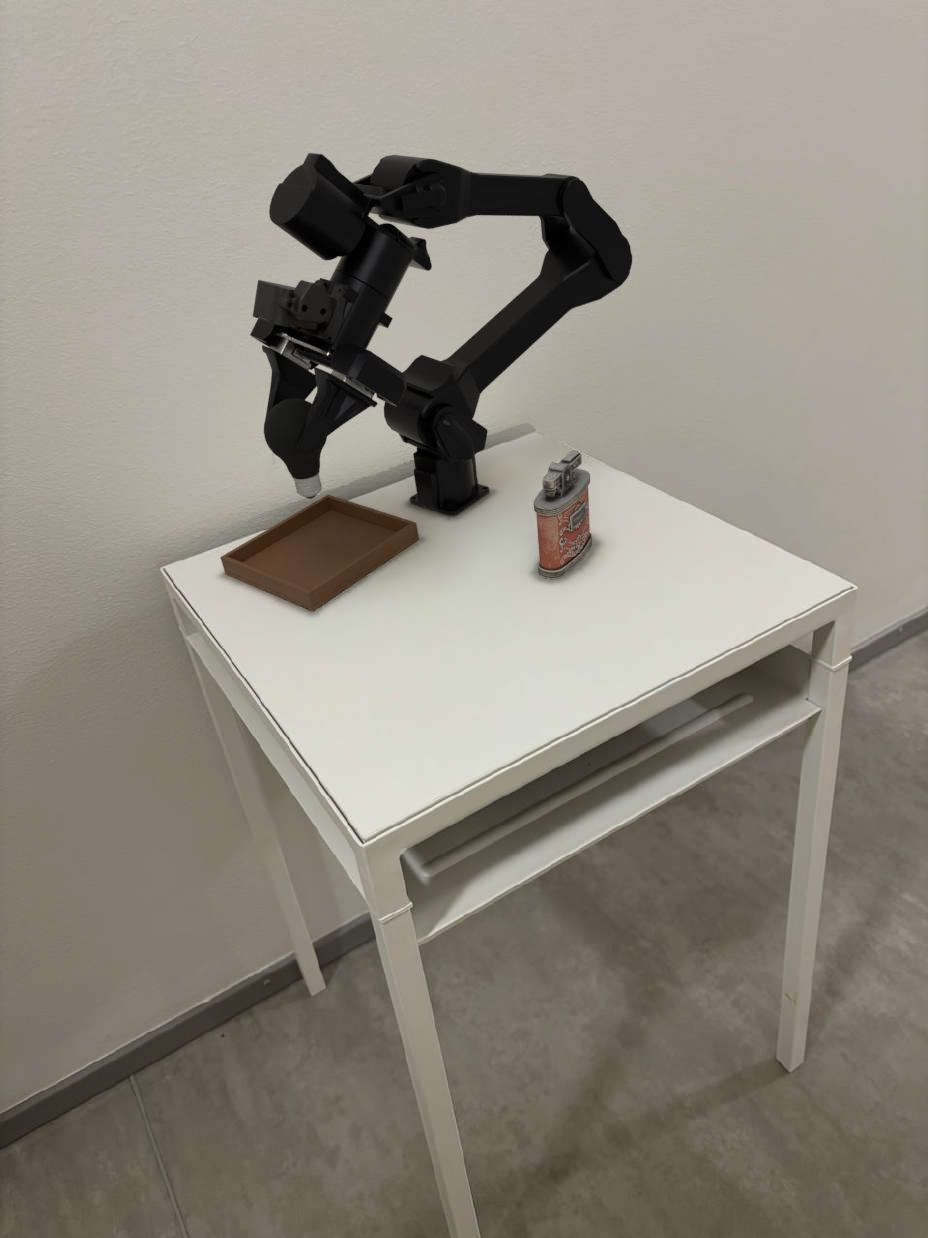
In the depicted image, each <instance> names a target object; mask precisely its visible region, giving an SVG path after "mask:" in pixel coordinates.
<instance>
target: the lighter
mask: <svg viewBox="0 0 928 1238" xmlns="http://www.w3.org/2000/svg"><path fill="white" fill-rule="evenodd" d="M582 458H583V457H582V452H580V450H578V449H571V450H570V451H569V452H568V453H566V454H565V456H563V457H562V458H561V460H560V461H558V462H553V461H552V462H551V463H550V464H549V465H548V469H547V472H546V473H545V474H544V475H543V477H542V489H540V491H539V492H538V494H537V495H536V497H535V498H534V500H533V511H534V512H535V513H536V526H537V527H536V528H537V544H538V557H539V561H538V563H537V573H538V575H539V576H540V577H542V578H544V579H548V580H558V579H561V578H563V577H564V576H566V575H567V574H568V573H570V572H571V571H573V570H574V569H575V568H576V567H577V566H578V565H579V564H580V563H582V561H583V560H584V559H585V558H586V556H587V555H588V553H589V551H590V549H591V547H592V546H593V534H592V533H591V530H590V529H591V527H590V498H589V497H590V495H589V486H590V484H591V473H590V472H589V471H588V470H586V469H582V468H579V467H580V466H581V465H582V464H583V461H582Z"/></svg>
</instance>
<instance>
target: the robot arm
mask: <svg viewBox="0 0 928 1238" xmlns="http://www.w3.org/2000/svg"><path fill="white" fill-rule="evenodd" d="M268 214H269V219H270V221H271V222H272V223H273V224H274V225H275V226H276V227H278V228H280V229H281V230H282V231H283V232H285V233H286V234H288V235H289V236H290V237H292V238H293V239H294V240H295V241H297V242H299V243H300V244H301V245H302V246H304V247H305V248H306V249H308V250H309V251H310V252H312V253H313V254H314V255H316V256H317V257H318V258H320V259H322V261H332V260H334V259H337V258H338V257H339V258H340V259H339V261H338V263H337V265H336V266H335V269H334V271H333V273H332V274H331V277H330V278H329V280H328V279H326V278H323V277H320V278H319V279H316V280H315V281H314V282H310V281H307V280H304V279H300V281H298V283H297V284H296V286H291V285H286V284H281V283H276V282H272V281H266V280H262V279H258V280H257V284H256V292H255V298H254V304H253V310H252V317H253V318H255V319H257V320H256V322H255V324H254V325H253V328H252V330H251V331H250V334H249V336H251V337H252V338H253V339H255V340H256V341H258V342H260V343H261V344H262V345H261V350H262V352H263V353H264V354H265V355H266V358H267V361H268V363H269V366H270V369H271V376H270V386H269V393H268V399H267V406H266V411H265V418H264V420H265V419H266V416H267V414H268V413H269V411H270V410H271V409H272V408H273V407H274V406H275V405H276V404H278V403H279V402H281V401H283V400H286V399H293V398H296V399H302V400H306V399H307V398H309V396H310V395H311V394H312V393H313V392H314V390H315V389H316V394H315V396H314V398H313V401H312V402H311V403H312V405H311V408H310V410H309V413H308V415H307V418H306V420H305V422H304V425H303V427H302V430H301V432H300V435H299V439H298V442H297V445H296V446H297V448H298V449H300V450H302V451H304V452H307V451H309V450H310V449H311V448H313V447H314V446H315V445H316V444H318V443H319V442H320V441H322V440H323V439H324V438H326V437H327V438H328V437H329V436H330V435H331V434H332V433H334V432H335V431H336V430H338V429H339V428H341V427H342V426H344V425H345V424H346V423H347V422H350V421H351V420H352V419H354V418H356V417H357V416H358V415H359V414H361V413H363V412H364V411H366V410H367V409H369V408H371V407H372V408H376V407H377V405H378V404H379V402H377V401H376V400H374V399H373V398H374V396H375V395H376V398H377V399H379V400H380V401H382V402H384V405H383V418H384V420H385V422H386V425H387V426H388V427H389V428H390V430H392V431H394V432H396V433H397V434H398V435H399V437H400V439H401V441H402V442H403V443H405V444H409V445H411V446H413V447H416V451H415V452H413V453H412V455H413V462H414V469H413V476H414V482H415V490H416V491H415V492H416V493H415V494H413V495H412V496H410V497H409V503H410V504H411V505H415V506H417V507H421V508H425V509H428V510H431V511H434V512H438V513H441V514H443V515H448V516H456V515H458V514H459V513H461V512H462V511H464V510H466V509H467V508H468V507H470V506H471V505H473V504H474V503H475V502H477V501H478V500H480V499H481V498H483V497H484V496H486V495H487V494H489V493H490V487H489V486H487V485H484V484H479V480H478V473H477V471H478V470H477V464H476V463H477V461H476V455H477V453H480V452H482V451H483V450H485V448H486V444H487V438H488V432H489V431H488V429H487V428H486V427H484V426H483V424H482V425H481V424H480V423H479V422H478V421H476V420H474V417H475V414H476V411H477V408H478V403H479V401H480V397H481V394H482V393H483V391H485V389H487V388H488V387H489V386H490V385H491V384H492V383H493V382H494V381H495V380H496V379H497V378H499V377H500V376H501V375H502V374H503V373H504V372H505V371H506V370H508V369H509V367H510V366H512V364H514V363H515V362H516V361H517V360H518V359H519V358H520V357H521V356H522V355H524V353H525V352H527V350H529V349H530V348H531V347H532V346H534V344H535V343H536V342H538V340H540V339H541V338H542V337H543V336H544V335H545V334H546V333H548V331H549V330H551V328H553V327H554V326H555V325H556V324H557V323H558V322H559V321H560V320H561V319H562V318H564V317H565V316H566V315H567V314H568V313H569V312H570V311H572V310H573V309H576V308H579V307H582V306H585V305H588V304H591V303H594V302H597V301H600V300H601V299H603V298H605V297H607V296H608V295H609V294H611V293H612V292H614V291H616V290H617V289H618V288H620V287H622V286H623V284H624V283H625V282H626V280H627V279H628V277H629V276H630V274H631V270H632V265H633V253H632V249H631V245H630V242H629V240H628V238H627V237H626V236H625V235H624V234H623V232H622V231H621V229H620V227H619V225H618V223H617V221H615V219H613V217H612V216H611V215H610V214H609V213H608V212H607V211H606V210H605V209H604V208H603V207H602V206H601V205H600V204H599V203H598V202H597V201H596V200H595V199H594V197H593V196H592V194H591V192H590V190H589V188H588V186H587V184H586V183H585V182H584V181H583V180H582V179H580V178H579V177H578V176H574V175H570V174H569V175H568V174H559V173H551V172H549V173H545V174H542V175H538V174H536V175H535V174H517V173H516V174H515V173H514V174H512V173H495V172H473V171H470V170H468V169H466V168H464V167H461V166H458V165H455V164H452V163H449V162H445V161H442V160H438V159H435V158H429V157H428V158H427V157H417V156H410V155H409V156H408V155H399V154H391V155H386V156H384V157H381V158H380V159H379V161H378V163H377V164H376V166H375V167H374V168H373V170H372V172H371V173H370V174H368V175H365V176H363V177H361V178H359V179H357V180H354V181H351V180H350V179H349V178H348V177H346V176H345V175H344V174H342V172H341V171H339V170H338V169H337V167H336V166H335V165H334V163H333V162H332V161H331V160H330V159H328V158H327V157H326V156H325V155H324V154H322V153H314V152H308V153H307V155H306V157H305V158H304V161H303V163H302V164H300V165H299V166H297V167H295V168H294V169H293V170H292V171H291V172H290V173H289V174H288V175H286V177H285V178H284V180H283V181H282V182H280V183H278V185H277V186H276V188H275V190H274V192H273V195H272V196H271V200H270V204H269V210H268ZM370 214H373V215H377V217H378V218H380V219H381V220H383V221H386V222H384V223H383V222H382V223H380V224H379V223H378V222H376V221H375V220H374V219H373V218H371V217H370V216H369V215H370ZM477 216H495V217H496V216H497V217H500V216H501V217H504V216H505V217H538V218H539V220H540V231H541V239H542V241H543V243H544V244H545V246H546V248H547V251H546V253H545V254H544V257H543V260H542V264H541V268H540V272H539V275H537V277H536V278H535V279H534V280H533V281H532V282H531V283H530V284H529V285H528V286H526V287H525V288H524V289H523V290H522V291H521V292H519V294H517V295H516V296H515V297H514V298H513V299H512V300H511V301H509V303H507V304H506V305H505V306H504V307H503V308H502V309H501V310H500V311H498V313H496V314H495V315H494V316H493V317H492V318H491V319H489V321H488V322H487V323H485V324H484V325H483V326H482V327H481V328H480V329H478V330H477V331H476V332H475V333H474V334H473V335H472V336H470V338H469V339H468V340H466V341H465V342H464V343H462V345H461V346H459V348H458V349H456V350H455V352H453V353H452V354H451V355H450V356H447V358H445V359H442V360H439V359H436V358H432V357H430V356H428V355H424V354H421V355H419V356H418V357H415V359H414V360H413V361H412V362H411V363H410V364H409V366H408V367H407V368H406V369H405V370H403V371H400V370H399V369H397V367H395V366H393V365H392V364H391V363H389V362H387V361H386V360H384V359H383V358H382V357H380V356H378V355H377V354H376V353H374V352H372V351H371V350H369V349H368V347H369V345H370V343H371V341H372V339H373V337H374V335H375V334H376V332H377V330H378V328H379V326H380V327H383V328H386V329H389V327H390V325H391V323H392V321H393V317H392V316H390V315H389V314H387V313H386V312H387V311H388V308H389V306H390V304H391V302H392V300H393V298H394V296H395V295H396V292H397V290H398V289H399V286H400V285H401V283H402V281H403V279H404V277H405V275H406V273H407V271H408V269H409V267H410V268H414V269H419V270H423V271H427V272H429V271H431V270H432V268H433V265H432V260H431V257H430V254H429V252H428V247H427V240H426V239H425V238H421V237H417V236H410V237H408V236H407V235H406V234H405V233H404V232H402V231H401V230H400V229H399V228H398V227H396V225H394V224H400V225H403V226H410V227H416V228H420V229H425V230H432V229H437V228H441V227H446V226H450V225H455V224H458V223H460V222H462V221H463V220H465V219H467V218H471V217H477ZM393 223H394V224H393ZM318 366H322V367H325V368H327V369H329V370H332V371H331V372H328V371H325V370H324V369H321V368H318ZM312 370H313V372H314V373H313V372H312Z"/></svg>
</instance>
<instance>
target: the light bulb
mask: <svg viewBox="0 0 928 1238" xmlns="http://www.w3.org/2000/svg"><path fill="white" fill-rule="evenodd" d="M312 403H313V402H311V401H308V400H306V399H305V400H302V399H296V398H293V399H286V400H283V401H281V402H279V403H278V404H276V405H275V406H274V407H273V408H272V409H271V410H270V411H269V413H268V414H267V416H266V415H265V418H266V419H265V418H264V422H263V435H264V440H265V442H266V444H267V447H268V448H269V449H270V451H271V452H272V453H273V454H274V455H275V456H276V457H278V458H279V459H280V460H281V461H282V462H283V463H284V465H285V466H286V469H287V471H288V472H289V474H290V476H291V478H292V479H293V482H294V487H295V490H296V493H297V494H298V495H299V496H301V497H304V498H306V499H309V500H312V499H315V498H316V496H317V495H318V494H319V493H321V491H322V488H323V486H322V481H321V477H320V471H321V470H320V469H321V455H322V451H323V448H324V447H325V446H326V443H327V440H328V439H327V438H328V436H327V437H326V438H324V439H323V440H322V441H320V442H319V443H318V444H316V445H315V446H314V447H313V448H311V449H310V450H309V451H307V452H304V451H302V450H300V449H298V448H297V446H296V445H297V442H298V439H299V435H300V432H301V430H302V427H303V425H304V422H305V420H306V418H307V415H308V413H309V410H310V408H311V405H312Z"/></svg>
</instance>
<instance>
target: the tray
mask: <svg viewBox="0 0 928 1238" xmlns="http://www.w3.org/2000/svg"><path fill="white" fill-rule="evenodd" d="M419 539H420V537H419V531H418V525H417V522H416V521H412V520H409V519H406V518H402V517H401V516H397V515H394V514H390V513H387V512H384V511H381V510H378V509H376V508H372V507H369V506H367V505H363V504H359V503H356V502H353V501H351V500H347V499H344V498H341V497H338V496H334V495H331V494H326V495H325V496H323V497H321V498H319V499H317V500H316V501H314V502H312V503H311V504H308V505H307V506H306V507H304V508H301V510H298V511H296V512H295V513H293V514H292V515H290V516H288V517H287V518H284V519H283V520H282V521H280V522H278V523H277V524H275V525H273V526H271V527H269V528H268V529H266V530H264V531H263V532H261V533H259V534H257V535H256V536H254V537H253V538H252V537H251V538H250V539H249V540H247V541H246V542H244V543H242V544H240V545H239V546H237V547H235V548H233V549H231V550H230V551H229V552H226V553H225V554H223V555H221V556H220V562H221V565H222V568H223V571H224V574H225V575H227V576H229V577H232V578H234V579H237V580H239V581H241V582H243V583H246V584H247V585H249V586H253V587H255V588H258V589H259V590H262V591H264V592H267V593H268V594H271V595H273V596H276V597H278V598H281V599H283V600H285V601H287V602H290V603H292V604H295V605H297V606H299V607H301V608H304V609H307V610H309V611H311V612H314V611H315V610H317V609H319V608H320V607H321V606H324V604H325V603H328V602H329V601H330V600H332V599H333V598H334V597H336V596H338V595H339V594H341V593H342V592H344V591H345V590H347V589H348V588H350V587H351V586H353V585H354V584H355V583H358V581H360V580H362V579H363V578H364V577H366V576H367V575H368V574H370V573H371V572H374V571H375V570H376V569H377V568H379V567H381V566H382V565H384V564H385V563H387V562H388V561H389V560H391V559H392V558H394V557H395V556H397V555H399V554H400V553H401V552H403V551H404V550H405V549H407V548H408V547H410V546H412V545H413V544H414V543H416V542H417V541H419Z"/></svg>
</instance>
